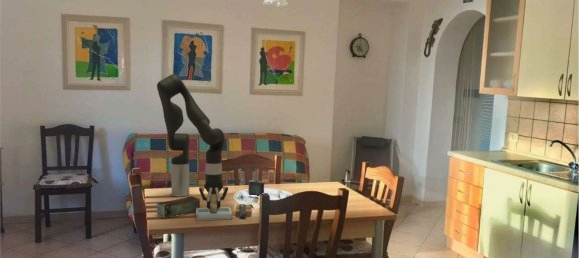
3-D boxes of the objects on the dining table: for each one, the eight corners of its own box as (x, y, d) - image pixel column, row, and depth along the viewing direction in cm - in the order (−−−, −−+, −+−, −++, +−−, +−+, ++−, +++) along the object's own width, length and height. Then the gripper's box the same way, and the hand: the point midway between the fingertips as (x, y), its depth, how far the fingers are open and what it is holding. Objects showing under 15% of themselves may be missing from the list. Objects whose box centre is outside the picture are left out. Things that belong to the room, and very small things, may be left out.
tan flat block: (236, 211, 228) (236, 205, 228) (251, 211, 228) (251, 205, 228) (235, 217, 218) (235, 211, 218) (250, 217, 219) (250, 211, 218)
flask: (247, 197, 252) (247, 177, 251) (250, 195, 255) (250, 176, 253) (262, 199, 248) (263, 179, 247) (265, 198, 251) (265, 178, 249)
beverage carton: (156, 215, 218) (155, 201, 218) (192, 207, 231) (192, 194, 231) (164, 219, 213) (164, 205, 212) (201, 211, 226) (201, 198, 225)
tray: (196, 213, 222) (196, 208, 222) (230, 212, 225) (230, 207, 224) (195, 220, 211) (195, 215, 211) (231, 219, 214) (231, 214, 214)
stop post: (239, 216, 218) (239, 204, 217) (245, 216, 218) (245, 204, 218) (239, 218, 215) (239, 206, 214) (246, 218, 216) (246, 205, 215)
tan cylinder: (209, 211, 219) (209, 192, 218) (217, 210, 220) (217, 192, 218) (209, 213, 215) (209, 194, 214) (217, 213, 216) (217, 194, 215)
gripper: (197, 174, 210) (197, 211, 212) (229, 173, 213) (229, 210, 215) (198, 170, 218) (198, 206, 220) (228, 170, 220) (228, 206, 222)
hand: (213, 208), depth 217 cm, fingers closed on tan cylinder, 3 cm apart
